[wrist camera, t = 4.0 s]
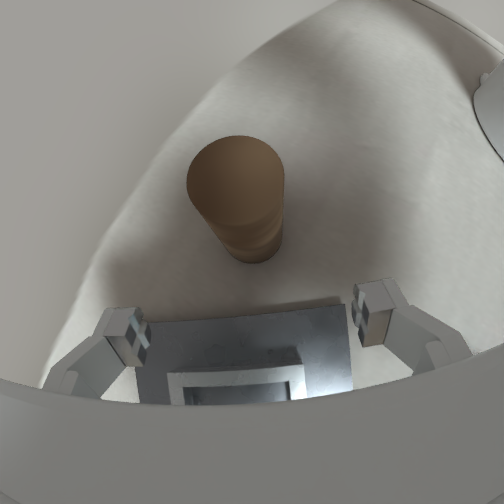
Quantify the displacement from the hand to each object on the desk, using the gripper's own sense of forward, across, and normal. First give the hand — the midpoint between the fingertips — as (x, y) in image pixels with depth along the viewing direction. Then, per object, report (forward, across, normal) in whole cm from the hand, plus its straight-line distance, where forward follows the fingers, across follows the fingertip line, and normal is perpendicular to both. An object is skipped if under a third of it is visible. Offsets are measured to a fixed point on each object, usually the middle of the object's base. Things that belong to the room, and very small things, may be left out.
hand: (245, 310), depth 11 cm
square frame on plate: (+2, +2, +13) cm, 14 cm away
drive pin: (+12, 0, +4) cm, 12 cm away
